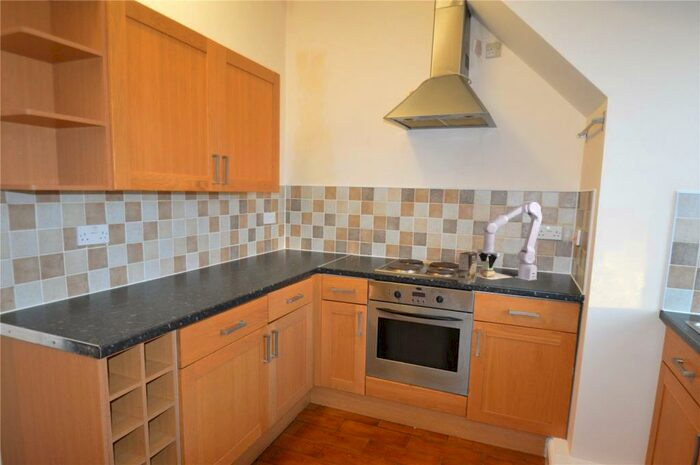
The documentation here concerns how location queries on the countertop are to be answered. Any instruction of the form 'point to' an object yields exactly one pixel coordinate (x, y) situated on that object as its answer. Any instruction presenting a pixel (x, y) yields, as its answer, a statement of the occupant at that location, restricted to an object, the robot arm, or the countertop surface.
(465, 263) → the coffee box
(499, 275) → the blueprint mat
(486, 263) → the green cube
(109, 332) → the countertop surface
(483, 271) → the beech base block
